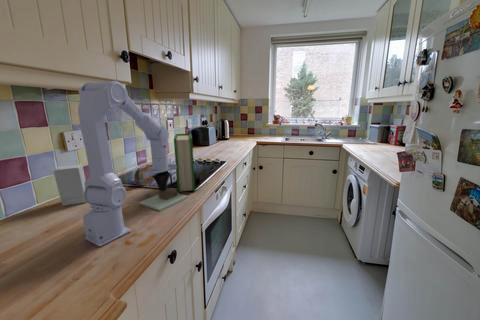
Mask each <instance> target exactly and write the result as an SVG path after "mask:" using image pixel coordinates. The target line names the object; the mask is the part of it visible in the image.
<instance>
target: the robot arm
mask: <svg viewBox="0 0 480 320" xmlns="http://www.w3.org/2000/svg"><path fill="white" fill-rule="evenodd" d="M78 94H79V98H80V99H79V103H78V108H77V113H78V114H77V115H78V118H79V124H80V130H81V134H82V139H83V144H84V148H85V149H84V150H85V154H86V159H87V164H88V169H89V177H88V178H87V179H86V181H85V182H84V184H85V191H84V199H85V201H86V202H85V203H87V204H89V205H90V206H89V207H90V208H91V210H90V211H88V212H87V213H84V214H83V216H82V223H83V227H84V234H85V237H84V238H85V240H87V241H89V242H90V243H92V244H94V245H96V246H97V247H102V246H104V245H106V244H108V243H110V242H112V241H114V240H117V239H118V238H120V237H122V236H124V235H126V234H128V233H131V231H132V230H131V229H130V228H128V227H126V226H125V223H124V216H123V209H122V208H123V207H122V206H123V205H124V202H125V200H126V197H127V192H126V188H125V187H124V185H123V183H122V180H121V178H119V176H118V175H116V174H115V173H114V168H113V163H112V162H113V161H112V157H111V151H110V150H111V149H110V146H109V145H110V143H109V138H108V133H107V128H106V121H105V117H106V116H107V115H108V114H109V112H111V111H112V110H114V109H116V108H119V109H120V110H121V111H123V112H124V113H125V114H126V115H128V116H129V117H131V118H132V119H133V120H134V125H135V127H138V128H139V129H140V130H141V131H142V132H143V133H144V134H145V137H146V140H148V141H149V144H150V152H151V153H150V154H151V163H152V164H151V165H153V167H152V169H150V170H148V171H146V172H143V177H144V178H149V177H150V176H152V177H153V178H154V181H155V183H156V185H157V187H158V189H159V192H161V191H165V190H166V189H167V184H168V182H169V181H168V180H170V179H169V178H170V176H171V172H169V171H172V170H176V169H177V165H176V163H175V164H174V163H172V164H169V159H168V150H167V147H168V142H169V141H168V139H169V137H170V132H169V130H168V128H167V127H166V126H164V125H161V124H160V123H159V122H158V121H157V120H156V119H154V117H152V114H151V113H149V112H143V111H142V110H141V109H140V108H139V107H138V105H136V103H135V102H134V101H133V100H132V99H131V98H130V96H129V94H128V90H127V89H126V88H125V86H123V85H122V83H120V82H119V81H117V80H110V81H95V82H94V81H88V82H85V83H84V84H83V85H82V86H80V87H79V89H78Z"/></svg>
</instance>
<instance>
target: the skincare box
mask: <svg viewBox="0 0 480 320" xmlns="http://www.w3.org/2000/svg"><path fill="white" fill-rule="evenodd" d="M53 175H54V178H55V182H56V187H57V189H58V190H57V191H58V194H59V198H60V201H61V206H62V207H65V206H70V205H77V204H78V205H79V204H85V203H87V202H86V201H85V199H84V191H85V184H84V182H85V181H86V180H87V179H86V176H85V170H84V166H83V164H82V163H79V164H74V165H73V164H72V165H70V164H69V165H63V166H62V165H61V166H57V167H56V168H54V170H53Z"/></svg>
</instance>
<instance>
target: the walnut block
mask: <svg viewBox="0 0 480 320" xmlns="http://www.w3.org/2000/svg"><path fill="white" fill-rule="evenodd" d="M177 193H178V189H175V188H172V187H169V188H166V190H165V191H158V195H159V198H160V199H163V200H168V199H170V198H172V197H174V196H177Z"/></svg>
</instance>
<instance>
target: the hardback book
mask: <svg viewBox="0 0 480 320" xmlns="http://www.w3.org/2000/svg"><path fill="white" fill-rule="evenodd" d="M173 145H174V147H173V148H174V160H175V164H176V165H177V169H175V174H176V183H177V184H176V185H177V186H176V187H177V193H178V194H181V192H188V191H190V192H191V191H192V192H193V193H196V184H195V165H194V163H195V162H194V149H193V148H194V147H193V136H192V133H176V134H175V135H174V138H173Z"/></svg>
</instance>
